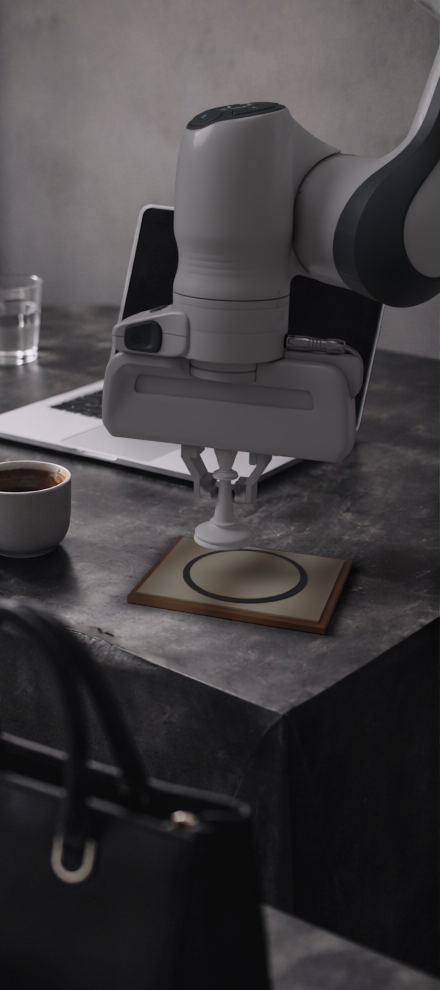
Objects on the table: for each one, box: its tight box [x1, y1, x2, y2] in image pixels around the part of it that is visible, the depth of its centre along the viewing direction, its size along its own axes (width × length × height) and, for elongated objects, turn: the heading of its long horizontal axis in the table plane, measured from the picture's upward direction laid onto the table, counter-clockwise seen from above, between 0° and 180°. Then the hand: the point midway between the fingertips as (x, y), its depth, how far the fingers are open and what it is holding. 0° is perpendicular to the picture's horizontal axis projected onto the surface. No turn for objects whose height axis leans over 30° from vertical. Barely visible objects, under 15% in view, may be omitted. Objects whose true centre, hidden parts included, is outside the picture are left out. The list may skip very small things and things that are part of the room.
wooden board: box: [126, 535, 353, 635], centre depth 82 cm, size 16×13×1 cm
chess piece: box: [193, 448, 254, 551], centre depth 79 cm, size 5×5×10 cm
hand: (224, 498), depth 80 cm, fingers closed on chess piece
